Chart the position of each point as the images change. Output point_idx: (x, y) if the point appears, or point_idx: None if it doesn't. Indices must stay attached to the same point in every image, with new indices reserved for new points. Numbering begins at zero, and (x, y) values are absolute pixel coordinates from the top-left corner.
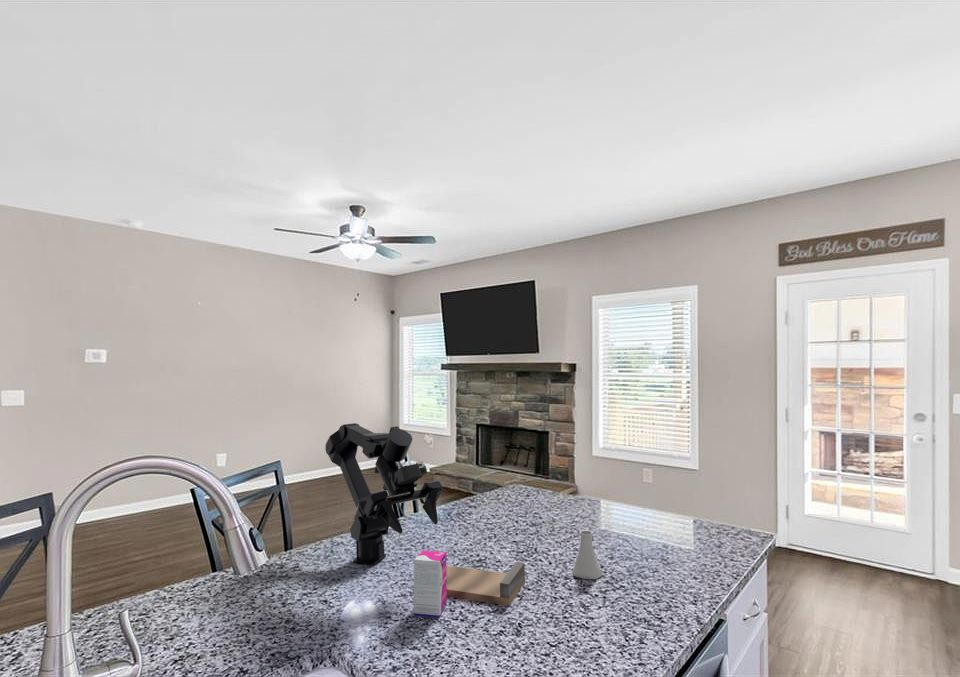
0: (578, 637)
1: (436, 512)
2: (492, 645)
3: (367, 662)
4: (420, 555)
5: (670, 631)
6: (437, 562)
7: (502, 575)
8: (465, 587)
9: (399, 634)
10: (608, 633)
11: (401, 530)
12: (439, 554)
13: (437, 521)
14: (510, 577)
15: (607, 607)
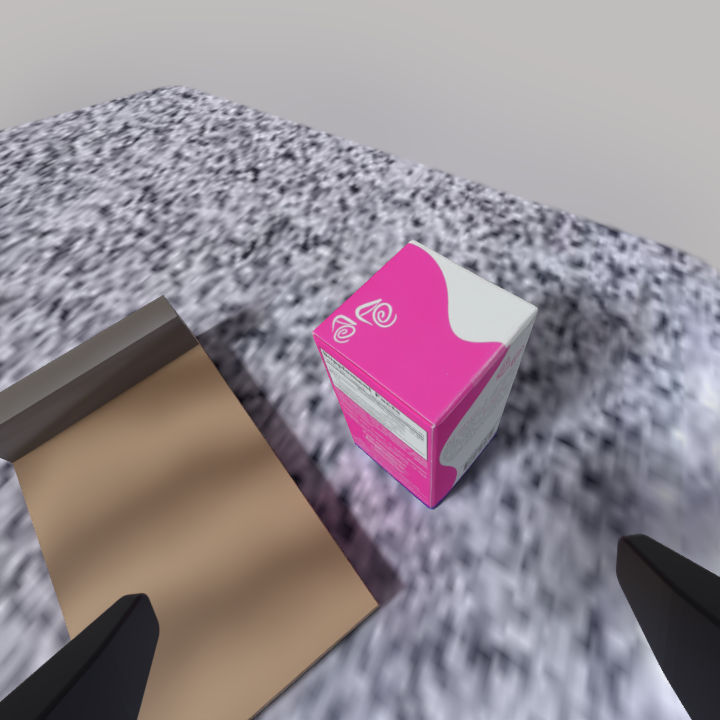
0: (193, 171)
1: (5, 700)
2: (360, 213)
3: (688, 273)
4: (480, 343)
5: (57, 132)
6: (421, 245)
7: (52, 488)
8: (239, 475)
9: (572, 352)
10: (138, 162)
11: (637, 535)
12: (367, 313)
13: (127, 596)
14: (115, 333)
15: (35, 226)
